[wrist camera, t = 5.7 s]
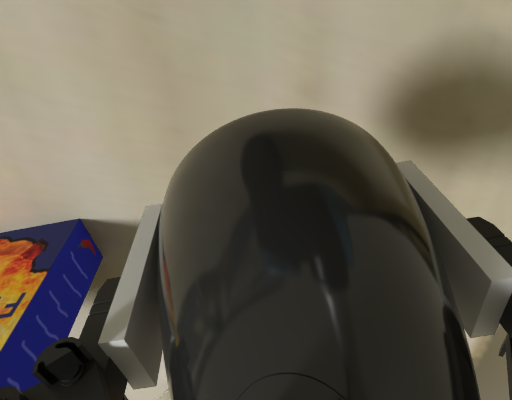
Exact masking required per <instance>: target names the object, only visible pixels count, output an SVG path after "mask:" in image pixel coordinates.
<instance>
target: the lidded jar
mask: <svg viewBox="0 0 512 400" xmlns="http://www.w3.org/2000/svg"><path fill="white" fill-rule="evenodd" d="M158 400H170V394H169V390H167V391H165V392H164V394H163V395H162V396H161V397H160V398H159V399H158Z"/></svg>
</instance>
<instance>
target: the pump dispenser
mask: <svg viewBox="0 0 512 400" xmlns="http://www.w3.org/2000/svg"><path fill="white" fill-rule="evenodd" d="M157 290H158V308H159V319H160V329H161V338H162V346H163V354H164V361H165V368H166V375H167V382H168V388H169V394H170V400H481V398H480V393H479V388H478V383H477V378H476V373H475V369H474V364H473V361H472V357H471V353H470V349H469V345H468V342H467V338H466V334H465V331H464V328H463V324H462V321H461V317H460V314H459V311H458V308H457V304H456V301H455V298H454V295H453V292H452V289H451V285H450V282H449V279H448V276H447V273H446V270H445V267H444V264H443V262H442V259H441V256H440V253H439V250H438V248H437V245H436V242H435V240H434V237H433V235H432V233H431V230H430V228H429V226H428V223H427V221H426V219H425V217H424V214H423V212H422V210H421V208H420V206H419V204H418V202H417V200H416V198H415V196H414V194H413V192H412V190H411V188H410V186H409V184H408V182H407V180H406V179H405V177H404V175H403V173H402V172H401V170H400V168H399V167H398V165H397V164H396V162H395V161H394V160H393V158H392V157H391V156H390V154H389V153H388V152H387V151H386V150H385V148H384V147H383V146H382V145H381V144H380V143H379V142H378V141H377V140H376V139H375V138H374V137H373V136H372V135H371V134H369V133H368V132H367V131H366V130H364V129H363V128H361V127H360V126H358V125H356V124H355V123H353V122H351V121H349V120H347V119H344V118H342V117H339V116H336V115H334V114H330V113H326V112H322V111H317V110H310V109H298V108H288V109H275V110H268V111H263V112H258V113H254V114H251V115H248V116H245V117H242V118H239V119H237V120H234V121H232V122H230V123H228V124H226V125H224V126H222V127H220V128H218V129H217V130H215V131H214V132H212V133H211V134H209V135H208V136H206V137H205V138H204V139H202V140H201V141H200V142H199V143H198V144H197V145H196V146H194V147H193V148H192V149H191V151H190V152H189V153H188V154H187V155H186V156H185V157H184V159H183V160H182V161H181V163H180V164H179V166H178V167H177V169H176V170H175V172H174V174H173V176H172V178H171V180H170V182H169V185H168V188H167V191H166V194H165V197H164V201H163V205H162V210H161V216H160V223H159V234H158V256H157Z"/></svg>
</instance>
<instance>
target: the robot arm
mask: <svg viewBox="0 0 512 400" xmlns="http://www.w3.org/2000/svg"><path fill="white" fill-rule="evenodd" d="M396 164H397V165H398V167H399V168H400V170H401V172H402V173H403V175H404V177H405V179H406V180H407V182H408V184H409V186H410V188H411V190H412V192H413V194H414V196H415V198H416V200H417V202H418V204H419V206H420V208H421V210H422V212H423V214H424V217H425V219H426V221H427V223H428V226H429V228H430V230H431V233H432V235H433V237H434V240H435V242H436V245H437V248H438V250H439V253H440V256H441V259H442V262H443V264H444V267H445V270H446V273H447V276H448V279H449V282H450V285H451V289H452V292H453V295H454V298H455V301H456V304H457V308H458V311H459V314H460V317H461V321H462V324H463V327H464V329H465V330H466V332H467V334H468V335H469V337H470V338H474V337H480V336H487V335H493V334H495V332H496V330H497V328H498V326H499V323H500V324H501V325H502V327H503V328H504V329H505V331H506V332H507V333H508V334H507V336H506V338H505V340H504V342H503V344H502V346H501V348H500V352H499V356H502V357H503V355H504V354H505V352H506V359H507V370H508V383H509V396H510V400H512V242H511V241H510V240H509V239H508V238H507V237H505V236H504V234H503V233H502V232H501V231H500V230H499V229H498V228H497V227H496V226H495V225H494V224H492V223H490V222H488V221H486V220H484V219H482V218H480V217H474V218H468V219H466V218H465V217H464V216H463V215H462V214H461V213H460V212H459V211H458V210H457V209H456V208H455V207H454V206H453V205H452V204H451V203H450V201H449V200H448V199H447V198H446V197H445V196H444V195H443V194H442V193H441V192H440V191H439V190H438V189H437V188H436V187H435V186H434V185H433V183H432V182H431V181H430V180H429V179H428V178H427V177H426V176H425V175H424V174H423V173H422V172H421V171H420V170H419V169H418V168H417V167H416V165H415V164H414V163H413V162H412V161H411V160H410V161H405V162H399V163H396ZM161 210H162V204H157V205H152V206H146V207H145V209H144V212H143V215H142V218H141V221H140V224H139V227H138V229H137V232H136V235H135V238H134V241H133V244H132V247H131V250H130V253H129V255H128V258H127V261H126V264H125V267H124V270H123V273H122V276H121V277H118V278H112V279H108V280H107V281H106V282H105V283H104V285H103V286H102V287H101V288H100V289H99V291H98V293H97V295H96V298H95V300H94V303H93V304H94V305H93V306H92V308H91V310H90V313H89V314H90V315H89V316H88V318H87V320H86V323H85V325H84V328H83V330H82V333H81V335H80V338H79V339H76V338H74V337H68V338H63V339H60V340H58V341H56V342H54V343H53V344H51V345H50V346H48V347H47V348H46V349H45V350H44V351H43V352H42V353H41V354H40V355H39V356H38V358H37V360H36V362H35V364H34V366H33V372H32V374H33V375H34V376H35V377H36V378H37V379H38V380H39V381H40V382H41V383H39V384H37V385H35V386H33V387H31V388H28V389H26V390H24V391H22V392H21V391H19V390H18V389H17V388H16V387H12V386H6V387H2V388H0V400H128V399H127V397H126V396H125V394H124V393H125V389H126V385H127V381H128V383H129V384H130V385H131V387H132V388H133V389H140V388H147V387H153V386H156V385H157V379H158V373H159V367H160V362H161V356H162V350H163V346H162V338H161V329H160V319H159V308H158V290H157V256H158V234H159V223H160V216H161Z"/></svg>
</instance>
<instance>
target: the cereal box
mask: <svg viewBox="0 0 512 400" xmlns="http://www.w3.org/2000/svg"><path fill="white" fill-rule="evenodd" d="M102 258H103V256H102V255H101V253H100V251H99V250H98V248H97V246H96V245H95V243H94V241H93V240H92V238H91V236H90V235H89V233H88V231H87V230H86V228H85V226H84V225H83V223H82V222H81V220H80V219H75V220H69V221H64V222H58V223H53V224H47V225H42V226H36V227H31V228H25V229H20V230H14V231H9V232H3V233H0V388H2V387H6V386H12V387H16V388H17V389H18V390H19V391H21V392H22V391H24V390H26V389H28V388H31V387H33V386H35V385H37V384H39V383H41V382H40V381H39V380H38V379H37V378H36V377H35V376H34V375H33V374H32V372H33V366H34V364H35V362H36V360H37V358H38V356H39V355H40V354H41V353H42V352H43V351H44V350H45V349H46V348H47V347H48V346H50V345H51V344H53V343H54V342H56V341H58V340H60V339H63V338H68V335H69V333H70V331H71V329H72V326H73V324H74V322H75V319H76V317H77V315H78V313H79V310H80V308H81V306H82V304H83V301H84V299H85V297H86V294H87V292H88V290H89V288H90V285H91V283H92V281H93V279H94V276H95V274H96V272H97V269H98V267H99V265H100V263H101V260H102Z"/></svg>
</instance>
